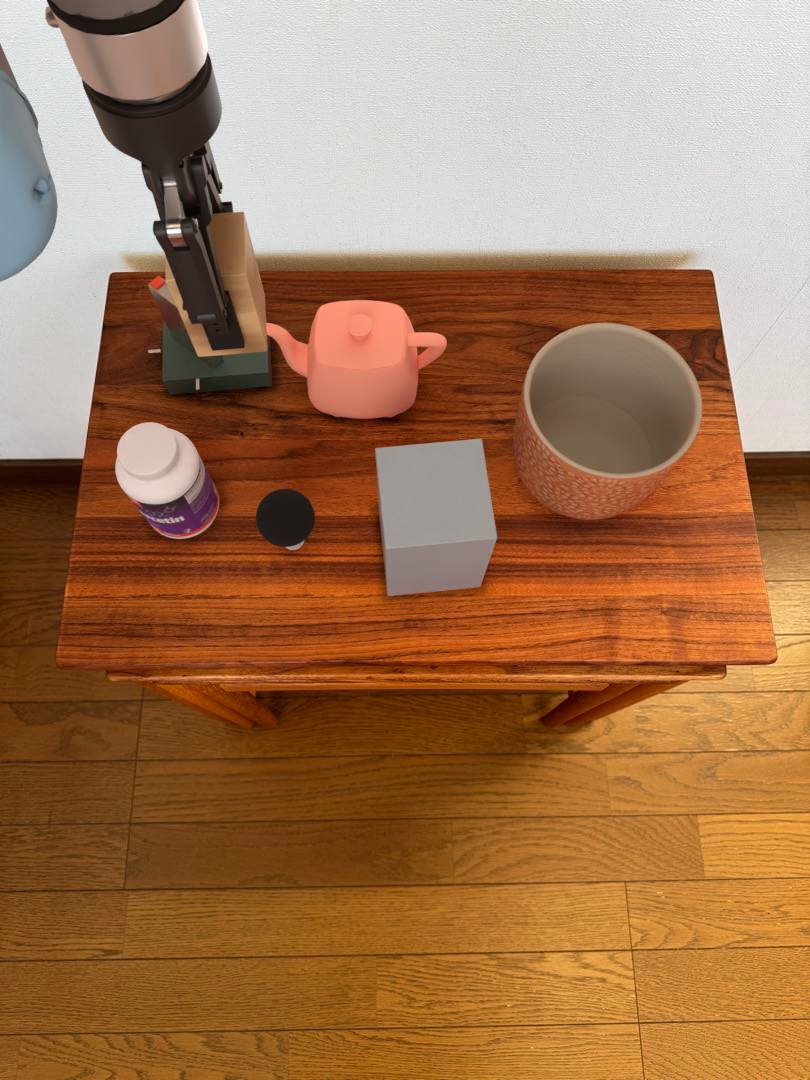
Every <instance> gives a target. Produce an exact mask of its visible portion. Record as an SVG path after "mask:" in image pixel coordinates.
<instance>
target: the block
mask: <svg viewBox="0 0 810 1080" xmlns="http://www.w3.org/2000/svg"><path fill="white" fill-rule="evenodd" d="M248 226H249V225H248V223H247V218H246V215H245V211H233V212H232V213H218V214H212V220H211V223H210V224H209V228H210V232H211V236H212V241H213V245H214V249H215V253H216V257H217V261H218V266H219V270H220V274H221V278H222V282H223V287H224V291H229V294H230V297H231V300H232V304H233V307H234V310H235V313H236V316H237V319H238V322H239V326H240V329H241V332H242V335H243V338H244V346H245V348H240V349H227V350H215V351H212V349H211V346H210V344H209V341H208V338H207V336H206V333H205V331H204V328H203V326H202V324H191V321H190V320H189V317H188V313H187V311H186V310H183V308H182V306H183V305H182V304H183V300H182V298H181V295H180V292H179V290H178V287H177V284H176V282H175V279H174V276H173V274H172V271H171V269H170V266H169V263H168V261H167V258H166V257H165V281H166V283H167V285H168V287H169V290H170V292H171V294H172V297H173V299H174V302H175V304H176V306H177V309H178V311H179V313H180V316H181V318H182V320H183V323H184V325H185V327H186V330H187V332H188V334H189V337H190V339H191V341H192V344H193V346H194V348H195V351H196V353H197V355H198V357H205V356H217V355H229V354H241V353H254V352H266V351H267V330H266V318H267V312H266V311H267V309H266V294H265V290H264V286H263V281H262V278H261V274H260V270H259V266H258V263H257V258H256V254H255V250H254V246H253V242H252V239H251V234H250V231H249V227H248Z"/></svg>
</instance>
